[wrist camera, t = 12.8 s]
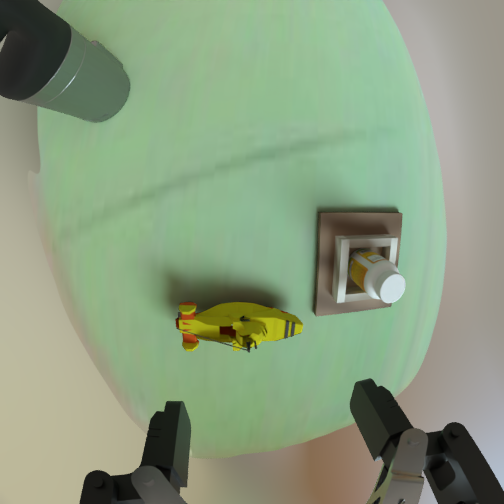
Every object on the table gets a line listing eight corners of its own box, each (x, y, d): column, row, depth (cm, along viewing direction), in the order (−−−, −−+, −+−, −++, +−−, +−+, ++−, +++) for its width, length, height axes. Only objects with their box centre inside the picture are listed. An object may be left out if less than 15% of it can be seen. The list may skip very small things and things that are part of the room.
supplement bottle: (357, 287, 40) (387, 316, 31) (338, 265, 39) (367, 291, 30) (381, 263, 39) (416, 286, 30) (363, 240, 38) (398, 259, 29)
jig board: (318, 212, 38) (326, 215, 34) (399, 212, 38) (411, 215, 35) (314, 313, 42) (320, 324, 39) (388, 304, 43) (398, 312, 39)
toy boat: (178, 292, 40) (163, 326, 30) (298, 294, 41) (315, 327, 31) (181, 329, 41) (170, 368, 32) (293, 329, 43) (308, 368, 33)
